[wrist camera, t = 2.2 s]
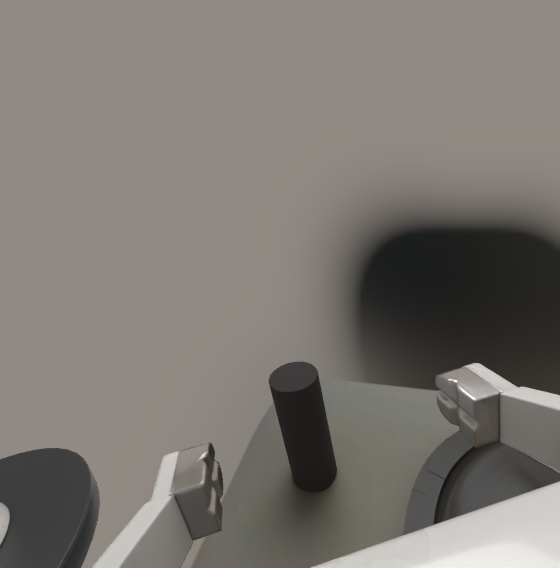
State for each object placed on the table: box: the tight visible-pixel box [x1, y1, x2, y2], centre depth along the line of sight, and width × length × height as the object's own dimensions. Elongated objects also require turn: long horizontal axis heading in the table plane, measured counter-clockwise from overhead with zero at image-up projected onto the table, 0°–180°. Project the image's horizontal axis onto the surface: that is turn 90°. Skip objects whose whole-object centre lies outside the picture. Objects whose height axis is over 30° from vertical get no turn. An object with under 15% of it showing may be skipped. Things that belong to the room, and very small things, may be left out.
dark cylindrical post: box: [269, 362, 337, 492], centre depth 25 cm, size 4×4×10 cm
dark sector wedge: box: [404, 430, 560, 535], centre depth 20 cm, size 8×14×2 cm, turn 114°
